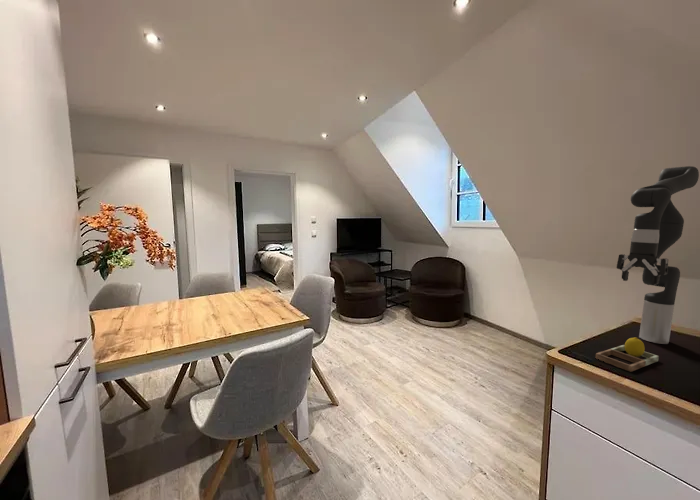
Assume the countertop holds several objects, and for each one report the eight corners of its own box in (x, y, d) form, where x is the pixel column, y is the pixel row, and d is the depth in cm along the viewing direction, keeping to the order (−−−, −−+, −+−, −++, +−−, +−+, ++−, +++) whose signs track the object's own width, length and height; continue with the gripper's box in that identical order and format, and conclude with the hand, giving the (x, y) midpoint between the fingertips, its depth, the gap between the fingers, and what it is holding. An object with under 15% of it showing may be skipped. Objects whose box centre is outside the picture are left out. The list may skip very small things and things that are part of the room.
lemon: (647, 361, 111) (650, 341, 110) (629, 359, 112) (632, 339, 111) (636, 355, 116) (638, 335, 115) (619, 353, 117) (622, 333, 117)
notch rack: (622, 349, 121) (623, 344, 121) (658, 361, 112) (658, 355, 111) (595, 358, 112) (595, 353, 112) (630, 371, 103) (631, 366, 103)
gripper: (675, 242, 109) (668, 286, 111) (626, 239, 122) (621, 278, 124) (665, 243, 106) (659, 287, 108) (616, 239, 119) (611, 279, 121)
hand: (639, 282), depth 116 cm, fingers open, 8 cm apart
